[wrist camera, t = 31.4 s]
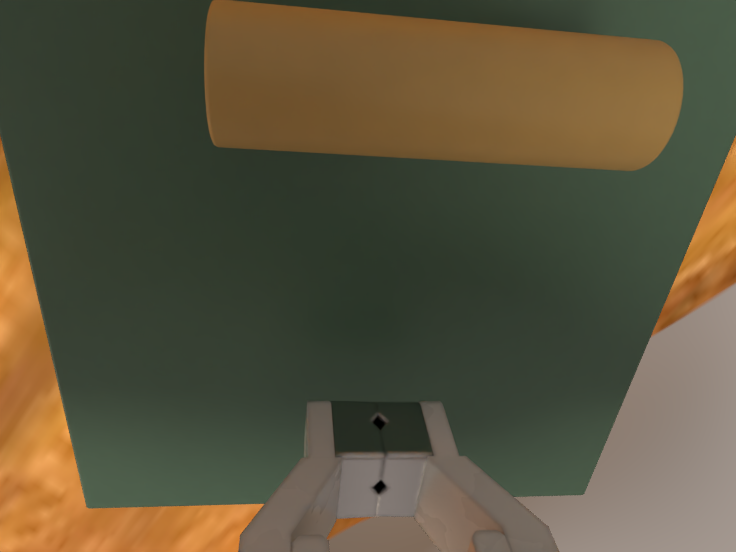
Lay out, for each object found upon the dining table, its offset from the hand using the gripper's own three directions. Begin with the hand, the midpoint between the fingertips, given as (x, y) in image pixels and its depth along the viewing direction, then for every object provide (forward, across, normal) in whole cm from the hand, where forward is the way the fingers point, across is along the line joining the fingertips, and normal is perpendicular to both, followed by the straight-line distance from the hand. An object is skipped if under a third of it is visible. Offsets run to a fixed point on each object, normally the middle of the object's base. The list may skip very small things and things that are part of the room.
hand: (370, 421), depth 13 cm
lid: (+3, 0, -2) cm, 3 cm away
